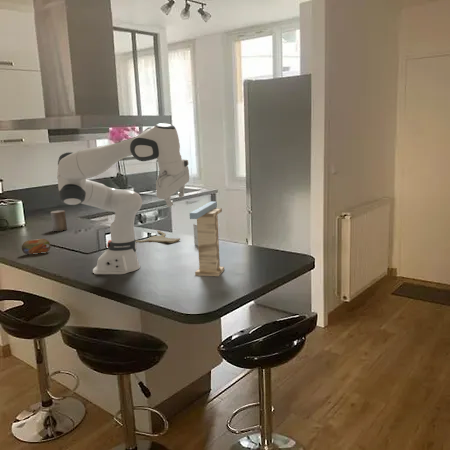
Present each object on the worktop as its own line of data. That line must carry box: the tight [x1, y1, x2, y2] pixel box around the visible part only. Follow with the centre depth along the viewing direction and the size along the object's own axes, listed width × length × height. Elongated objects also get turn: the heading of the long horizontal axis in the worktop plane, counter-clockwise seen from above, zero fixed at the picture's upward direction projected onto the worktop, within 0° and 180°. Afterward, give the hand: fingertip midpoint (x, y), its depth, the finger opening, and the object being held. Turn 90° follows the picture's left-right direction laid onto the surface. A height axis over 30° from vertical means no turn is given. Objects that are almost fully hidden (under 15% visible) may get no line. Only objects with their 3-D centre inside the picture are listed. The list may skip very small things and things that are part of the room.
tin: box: [21, 238, 51, 255], centre depth 262 cm, size 15×3×8 cm, turn 109°
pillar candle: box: [49, 209, 68, 232], centre depth 324 cm, size 10×10×15 cm
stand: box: [194, 207, 225, 277], centre depth 212 cm, size 14×11×29 cm
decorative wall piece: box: [136, 230, 181, 244], centre depth 285 cm, size 30×3×30 cm
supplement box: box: [193, 222, 198, 247], centre depth 266 cm, size 7×7×13 cm
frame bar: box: [189, 201, 218, 220], centre depth 205 cm, size 30×3×2 cm, turn 165°
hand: (175, 201), depth 180 cm, fingers open, 8 cm apart
